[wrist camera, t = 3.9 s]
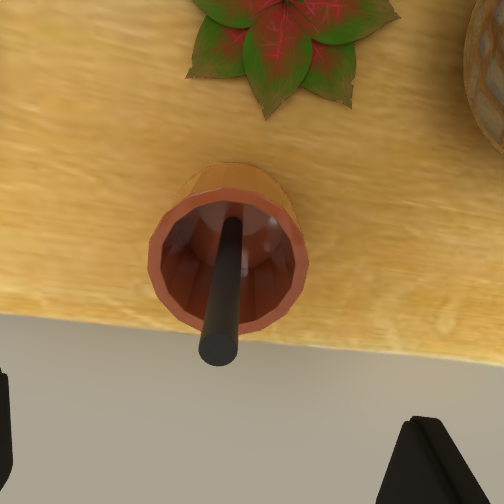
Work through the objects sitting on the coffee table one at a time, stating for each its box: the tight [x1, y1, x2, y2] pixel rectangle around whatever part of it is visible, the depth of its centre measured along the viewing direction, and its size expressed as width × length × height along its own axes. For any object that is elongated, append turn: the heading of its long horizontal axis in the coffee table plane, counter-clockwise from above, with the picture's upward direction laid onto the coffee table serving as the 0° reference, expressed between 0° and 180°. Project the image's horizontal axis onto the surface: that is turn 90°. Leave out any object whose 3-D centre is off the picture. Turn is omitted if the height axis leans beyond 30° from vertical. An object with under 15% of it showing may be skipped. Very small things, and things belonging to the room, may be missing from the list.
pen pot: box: [147, 162, 309, 335], centre depth 22 cm, size 7×7×7 cm
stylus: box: [199, 217, 243, 366], centre depth 19 cm, size 1×1×13 cm
